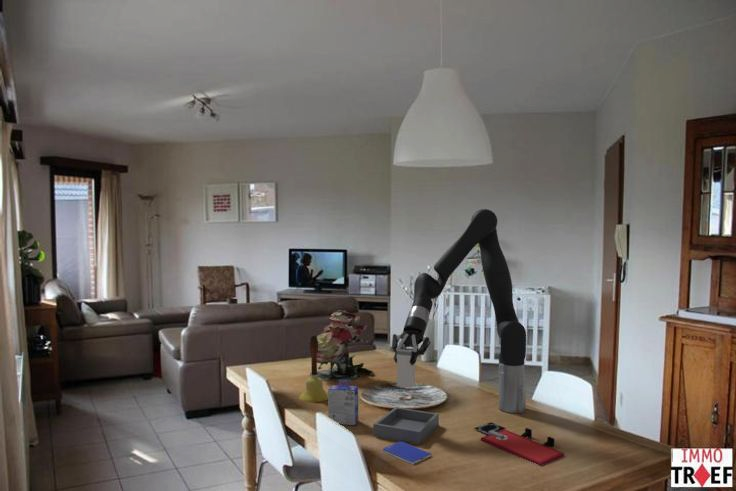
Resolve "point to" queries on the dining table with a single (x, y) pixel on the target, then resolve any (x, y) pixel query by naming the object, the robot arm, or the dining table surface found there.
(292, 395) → the dining table surface
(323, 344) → the rose bouquet
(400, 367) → the grey block
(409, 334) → the robot arm
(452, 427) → the dining table surface
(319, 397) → the handbell
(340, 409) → the ink cartridge box
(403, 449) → the hard drive
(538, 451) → the red board with handle
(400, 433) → the tray
